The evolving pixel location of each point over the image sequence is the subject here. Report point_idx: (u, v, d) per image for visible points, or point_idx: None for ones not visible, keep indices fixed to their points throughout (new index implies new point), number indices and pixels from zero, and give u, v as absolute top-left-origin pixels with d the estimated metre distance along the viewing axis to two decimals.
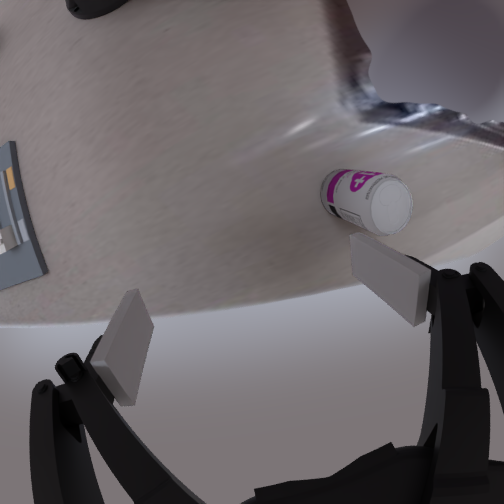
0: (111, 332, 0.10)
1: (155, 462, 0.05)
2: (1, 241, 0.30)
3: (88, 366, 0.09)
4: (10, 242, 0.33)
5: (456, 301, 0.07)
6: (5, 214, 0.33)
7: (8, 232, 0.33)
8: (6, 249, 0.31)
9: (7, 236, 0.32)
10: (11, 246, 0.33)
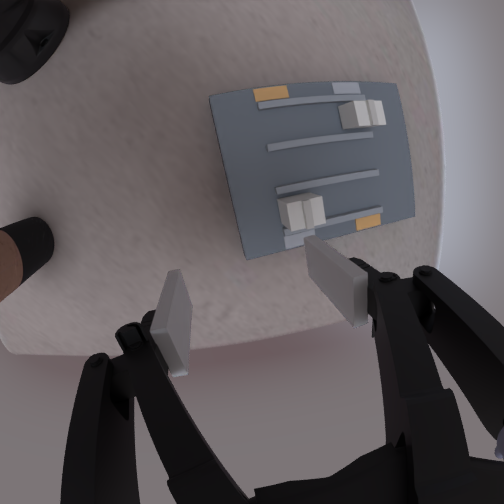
0: (165, 305, 0.12)
1: (201, 441, 0.05)
2: (370, 100, 0.25)
3: None
4: None
5: (398, 304, 0.08)
6: (322, 118, 0.29)
7: None
8: (378, 101, 0.25)
9: None
10: None
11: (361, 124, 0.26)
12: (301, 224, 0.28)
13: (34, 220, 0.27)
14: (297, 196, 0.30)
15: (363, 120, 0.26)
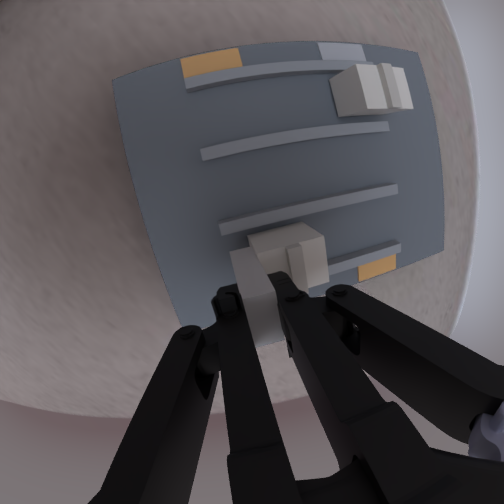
0: (245, 277, 0.13)
1: (275, 421, 0.06)
2: None
3: None
4: None
5: (312, 323, 0.09)
6: (302, 99, 0.17)
7: None
8: None
9: None
10: None
11: (371, 106, 0.13)
12: None
13: None
14: (281, 231, 0.18)
15: (375, 99, 0.13)
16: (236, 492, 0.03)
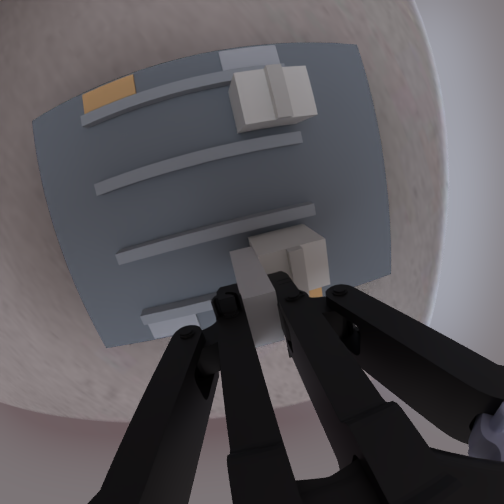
0: (245, 277, 0.13)
1: (275, 421, 0.06)
2: None
3: None
4: None
5: (312, 323, 0.09)
6: (197, 118, 0.16)
7: None
8: None
9: None
10: None
11: (251, 120, 0.13)
12: None
13: None
14: (282, 234, 0.18)
15: (257, 110, 0.13)
16: (236, 492, 0.03)
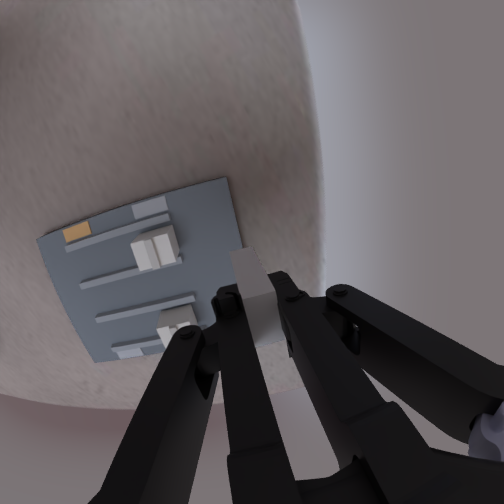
0: (245, 277, 0.13)
1: (275, 421, 0.06)
2: (147, 240, 0.25)
3: None
4: (160, 231, 0.27)
5: (312, 323, 0.09)
6: (125, 249, 0.29)
7: (145, 235, 0.27)
8: (164, 233, 0.26)
9: (149, 235, 0.27)
10: (166, 229, 0.27)
11: (142, 269, 0.26)
12: None
13: None
14: (175, 312, 0.31)
15: (144, 264, 0.26)
16: (236, 492, 0.03)
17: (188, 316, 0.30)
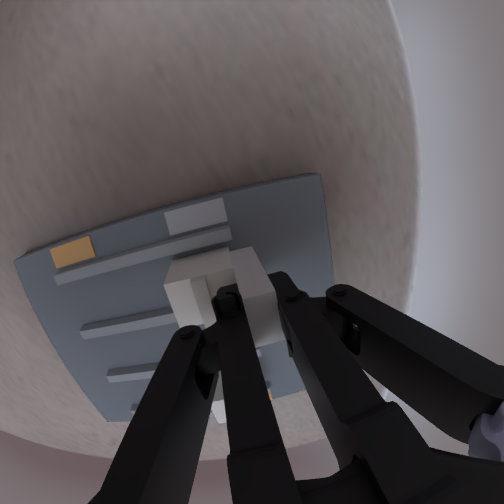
0: (245, 277, 0.13)
1: (275, 421, 0.06)
2: (198, 279, 0.14)
3: None
4: (213, 260, 0.16)
5: (312, 323, 0.09)
6: (153, 282, 0.19)
7: (185, 265, 0.17)
8: (228, 267, 0.15)
9: (194, 266, 0.16)
10: (225, 257, 0.16)
11: (185, 325, 0.15)
12: None
13: None
14: None
15: (188, 317, 0.15)
16: (236, 492, 0.03)
17: None
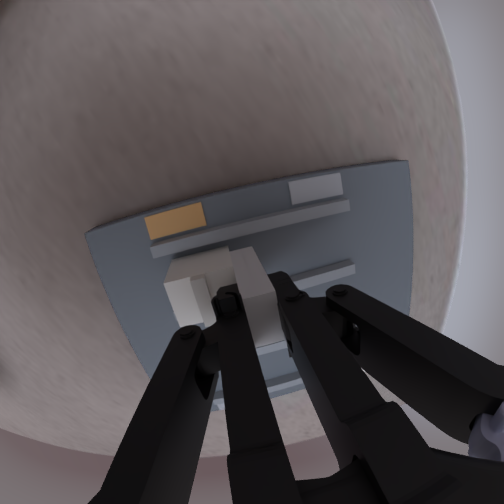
0: (245, 277, 0.13)
1: (275, 421, 0.06)
2: (197, 278, 0.14)
3: None
4: (213, 259, 0.17)
5: (312, 323, 0.09)
6: (267, 253, 0.19)
7: (185, 264, 0.17)
8: (227, 266, 0.15)
9: (193, 265, 0.16)
10: (225, 256, 0.17)
11: (184, 324, 0.15)
12: None
13: None
14: None
15: (188, 316, 0.15)
16: (236, 492, 0.03)
17: None
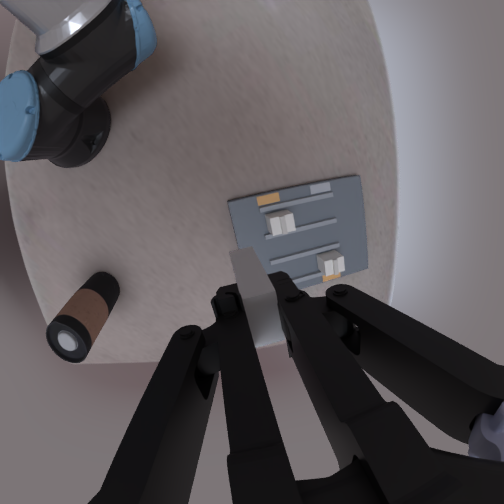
0: (245, 277, 0.13)
1: (275, 421, 0.06)
2: (282, 216, 0.44)
3: None
4: (283, 212, 0.46)
5: (312, 323, 0.09)
6: (302, 212, 0.49)
7: (273, 214, 0.46)
8: (290, 213, 0.45)
9: (277, 214, 0.46)
10: (287, 211, 0.46)
11: (275, 234, 0.45)
12: (331, 272, 0.49)
13: (105, 276, 0.47)
14: (328, 253, 0.51)
15: (276, 231, 0.45)
16: (236, 492, 0.03)
17: (340, 254, 0.49)
